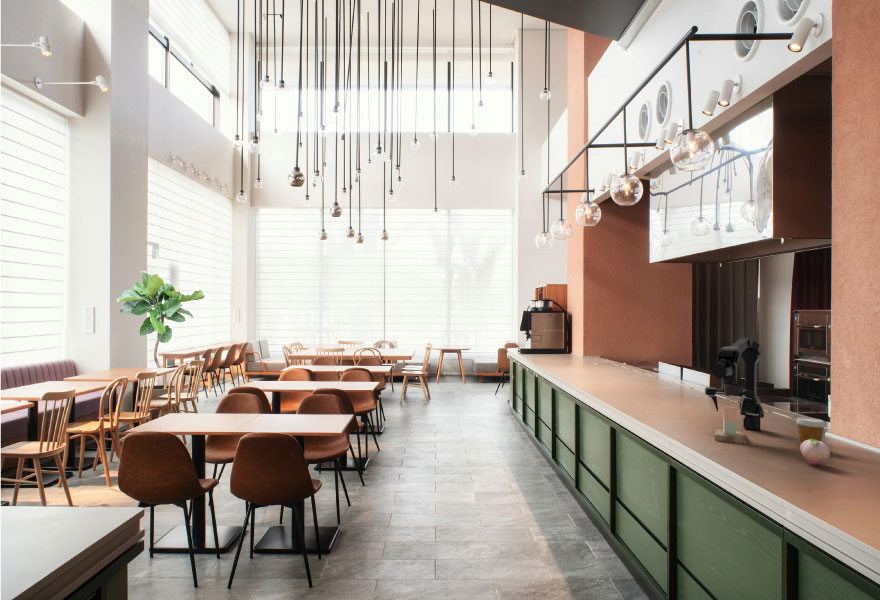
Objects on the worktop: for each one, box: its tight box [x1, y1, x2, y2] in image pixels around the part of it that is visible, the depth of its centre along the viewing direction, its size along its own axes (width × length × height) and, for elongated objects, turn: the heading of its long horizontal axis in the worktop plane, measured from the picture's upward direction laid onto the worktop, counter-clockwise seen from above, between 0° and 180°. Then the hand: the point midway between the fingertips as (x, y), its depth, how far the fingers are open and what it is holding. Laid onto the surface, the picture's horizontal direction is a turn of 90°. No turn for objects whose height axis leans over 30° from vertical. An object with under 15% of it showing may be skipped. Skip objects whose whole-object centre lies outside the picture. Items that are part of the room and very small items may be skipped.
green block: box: [722, 419, 738, 435], centre depth 217 cm, size 4×4×6 cm
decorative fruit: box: [799, 437, 831, 466], centre depth 182 cm, size 9×8×10 cm
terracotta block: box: [722, 406, 738, 422], centre depth 217 cm, size 4×4×6 cm
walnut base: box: [712, 428, 749, 445], centre depth 217 cm, size 12×12×2 cm
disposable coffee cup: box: [795, 416, 826, 447], centre depth 203 cm, size 10×10×12 cm
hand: (729, 412), depth 221 cm, fingers open, 9 cm apart
